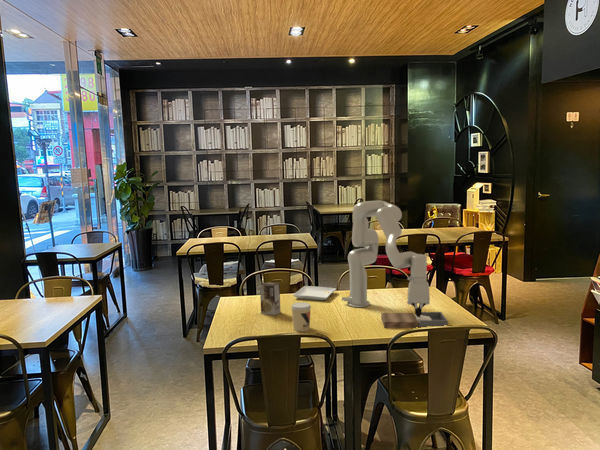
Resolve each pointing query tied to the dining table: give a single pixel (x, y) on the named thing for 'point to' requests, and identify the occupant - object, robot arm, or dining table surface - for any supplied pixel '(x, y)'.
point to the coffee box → (270, 298)
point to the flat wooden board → (399, 320)
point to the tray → (433, 319)
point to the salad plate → (314, 293)
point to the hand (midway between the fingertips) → (418, 315)
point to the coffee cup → (301, 316)
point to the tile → (422, 318)
